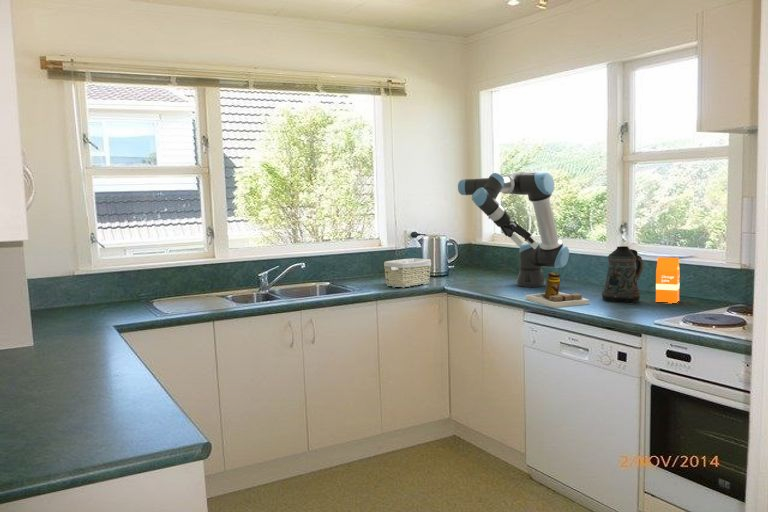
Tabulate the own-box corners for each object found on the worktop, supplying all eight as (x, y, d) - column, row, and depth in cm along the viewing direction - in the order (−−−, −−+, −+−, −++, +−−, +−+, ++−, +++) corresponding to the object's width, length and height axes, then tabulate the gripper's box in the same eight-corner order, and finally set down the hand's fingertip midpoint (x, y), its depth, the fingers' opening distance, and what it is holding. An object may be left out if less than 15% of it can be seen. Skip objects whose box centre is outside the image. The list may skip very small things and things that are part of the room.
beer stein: (596, 302, 288) (596, 248, 285) (611, 295, 302) (612, 244, 300) (633, 305, 277) (633, 249, 274) (647, 298, 292) (647, 245, 289)
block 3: (569, 302, 285) (569, 294, 285) (577, 302, 286) (577, 293, 286) (573, 304, 282) (573, 295, 281) (581, 303, 282) (581, 294, 282)
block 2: (559, 303, 283) (559, 295, 283) (566, 302, 285) (565, 294, 285) (565, 305, 280) (565, 296, 279) (572, 304, 281) (572, 295, 281)
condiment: (558, 301, 290) (561, 276, 287) (539, 298, 292) (542, 274, 289) (558, 296, 297) (561, 272, 294) (540, 293, 299) (543, 269, 296)
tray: (525, 300, 298) (525, 295, 298) (558, 297, 304) (558, 291, 303) (554, 308, 275) (554, 303, 275) (589, 305, 281) (589, 299, 281)
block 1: (549, 304, 282) (549, 296, 282) (557, 303, 283) (557, 295, 283) (554, 306, 278) (554, 297, 278) (562, 305, 280) (562, 296, 279)
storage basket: (413, 282, 371) (412, 257, 369) (433, 284, 359) (432, 258, 357) (383, 287, 355) (382, 261, 354) (403, 289, 343) (402, 263, 342)
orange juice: (677, 303, 277) (677, 258, 275) (655, 302, 282) (656, 258, 280) (679, 300, 284) (680, 257, 282) (658, 299, 288) (658, 256, 286)
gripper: (481, 220, 297) (510, 249, 303) (507, 223, 273) (538, 254, 279) (491, 208, 298) (519, 237, 304) (517, 210, 274) (548, 241, 280)
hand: (528, 245), depth 292 cm, fingers open, 13 cm apart
